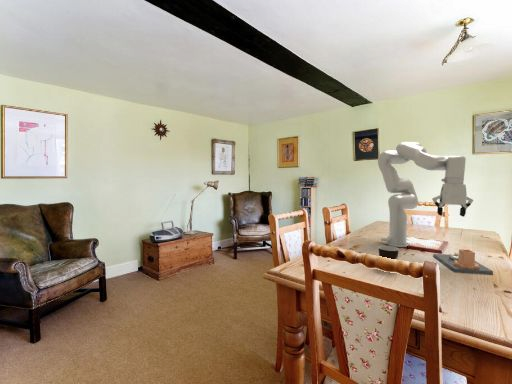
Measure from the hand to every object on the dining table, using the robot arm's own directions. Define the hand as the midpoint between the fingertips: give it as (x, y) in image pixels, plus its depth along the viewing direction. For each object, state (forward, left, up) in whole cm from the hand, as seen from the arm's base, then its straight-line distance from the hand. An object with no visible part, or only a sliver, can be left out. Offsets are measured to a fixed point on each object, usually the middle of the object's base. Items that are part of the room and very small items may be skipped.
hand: (450, 215), depth 133 cm
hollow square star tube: (+4, -9, -22) cm, 24 cm away
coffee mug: (-31, -15, -24) cm, 42 cm away
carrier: (+4, -3, -24) cm, 24 cm away
